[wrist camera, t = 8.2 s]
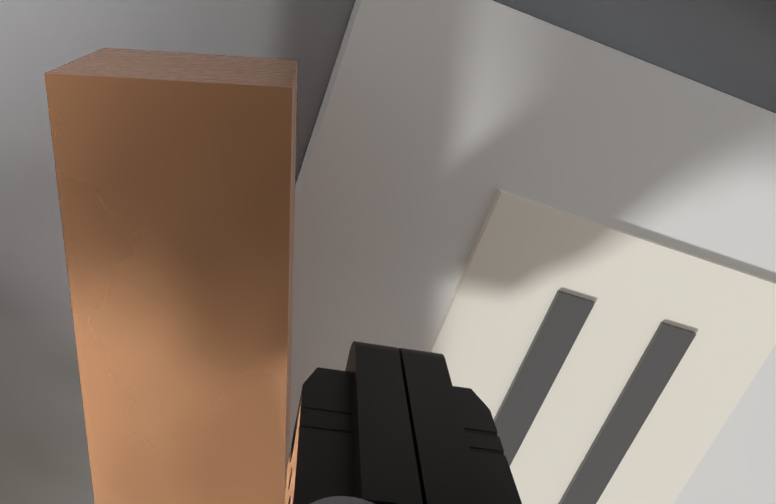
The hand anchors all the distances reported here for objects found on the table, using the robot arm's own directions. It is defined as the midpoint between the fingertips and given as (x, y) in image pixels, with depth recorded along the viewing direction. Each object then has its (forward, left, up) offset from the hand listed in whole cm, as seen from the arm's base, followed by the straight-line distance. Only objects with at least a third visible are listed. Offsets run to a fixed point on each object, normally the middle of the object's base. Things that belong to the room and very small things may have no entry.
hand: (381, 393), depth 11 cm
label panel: (-5, -5, -4) cm, 8 cm away
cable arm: (-6, +1, -2) cm, 6 cm away
